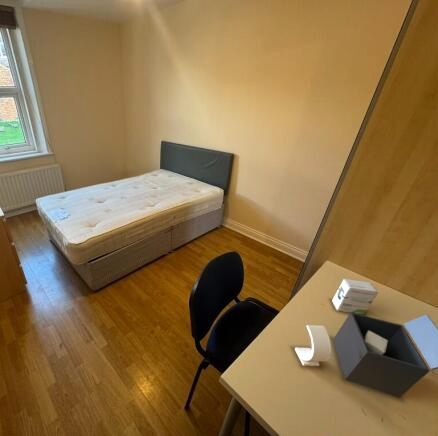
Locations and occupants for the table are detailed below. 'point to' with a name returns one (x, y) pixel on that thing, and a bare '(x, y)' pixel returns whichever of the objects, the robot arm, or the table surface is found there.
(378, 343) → the box
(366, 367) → the grey container
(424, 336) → the panel
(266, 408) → the table surface
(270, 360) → the table surface
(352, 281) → the ink box
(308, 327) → the headphone stand
